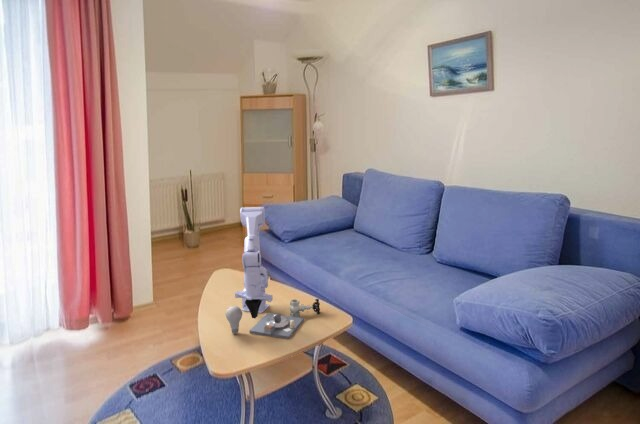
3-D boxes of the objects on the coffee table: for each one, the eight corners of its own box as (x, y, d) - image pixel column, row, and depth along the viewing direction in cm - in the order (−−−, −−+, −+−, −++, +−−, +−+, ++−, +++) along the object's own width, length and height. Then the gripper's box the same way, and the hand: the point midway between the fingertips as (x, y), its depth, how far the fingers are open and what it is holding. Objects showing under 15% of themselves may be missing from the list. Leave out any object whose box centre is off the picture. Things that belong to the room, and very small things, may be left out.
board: (249, 333, 172) (249, 323, 171) (267, 315, 187) (267, 306, 186) (288, 339, 167) (288, 328, 166) (303, 320, 182) (303, 311, 181)
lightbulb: (235, 339, 167) (234, 311, 165) (223, 335, 171) (221, 308, 168) (246, 332, 172) (245, 305, 170) (234, 328, 176) (233, 302, 173)
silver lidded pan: (271, 317, 182) (271, 308, 181) (292, 320, 179) (292, 311, 178) (256, 332, 170) (256, 323, 169) (278, 335, 167) (278, 326, 166)
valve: (290, 320, 182) (320, 317, 184) (290, 304, 181) (320, 302, 183) (289, 313, 189) (317, 310, 191) (288, 298, 187) (317, 295, 189)
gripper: (230, 284, 166) (232, 319, 169) (266, 288, 162) (267, 324, 165) (239, 278, 173) (241, 311, 176) (274, 282, 168) (275, 316, 171)
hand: (254, 317), depth 171 cm, fingers closed
